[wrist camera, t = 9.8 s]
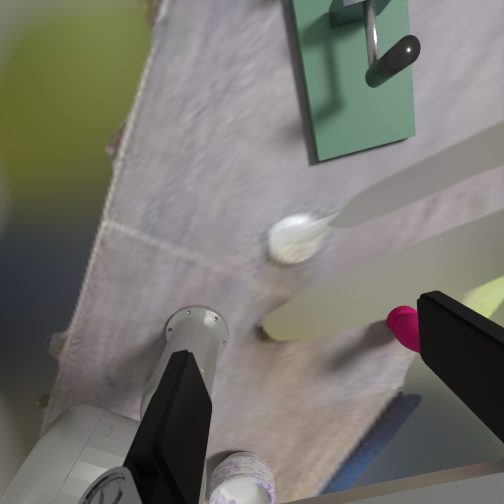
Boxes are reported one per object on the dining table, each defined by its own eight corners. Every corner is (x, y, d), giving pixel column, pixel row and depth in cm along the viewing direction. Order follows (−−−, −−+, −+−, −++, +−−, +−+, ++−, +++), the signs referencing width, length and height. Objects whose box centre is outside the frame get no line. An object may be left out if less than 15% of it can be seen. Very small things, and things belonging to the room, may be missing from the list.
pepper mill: (380, 332, 52) (458, 420, 33) (389, 301, 50) (477, 376, 31) (412, 334, 53) (508, 422, 34) (422, 304, 51) (530, 380, 32)
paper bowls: (284, 460, 63) (289, 499, 55) (246, 492, 66) (246, 533, 58) (237, 432, 59) (236, 469, 52) (200, 468, 63) (194, 508, 55)
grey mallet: (385, 90, 38) (439, 56, 27) (340, 102, 38) (377, 73, 28) (377, -6, 34) (436, -88, 24) (328, 8, 35) (364, -66, 24)
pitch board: (409, 137, 42) (415, 135, 40) (316, 161, 42) (319, 161, 41) (398, -51, 35) (404, -61, 33) (287, -18, 35) (289, -27, 34)
